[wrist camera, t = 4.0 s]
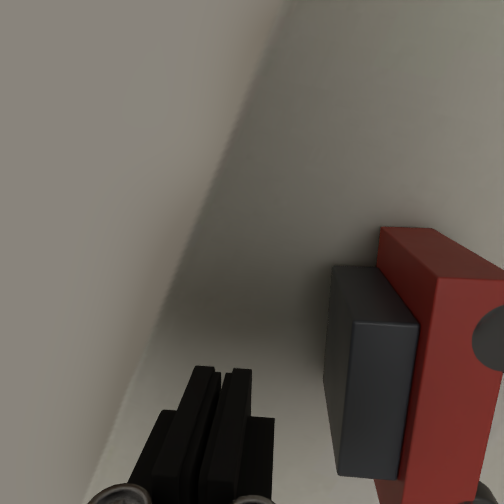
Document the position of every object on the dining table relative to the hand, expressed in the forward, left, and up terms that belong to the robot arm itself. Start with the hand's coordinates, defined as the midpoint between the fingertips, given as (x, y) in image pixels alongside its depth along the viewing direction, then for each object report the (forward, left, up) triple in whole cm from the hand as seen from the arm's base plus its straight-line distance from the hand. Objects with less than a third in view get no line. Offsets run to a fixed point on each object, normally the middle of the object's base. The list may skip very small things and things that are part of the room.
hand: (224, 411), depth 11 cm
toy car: (+4, +4, -6) cm, 8 cm away
